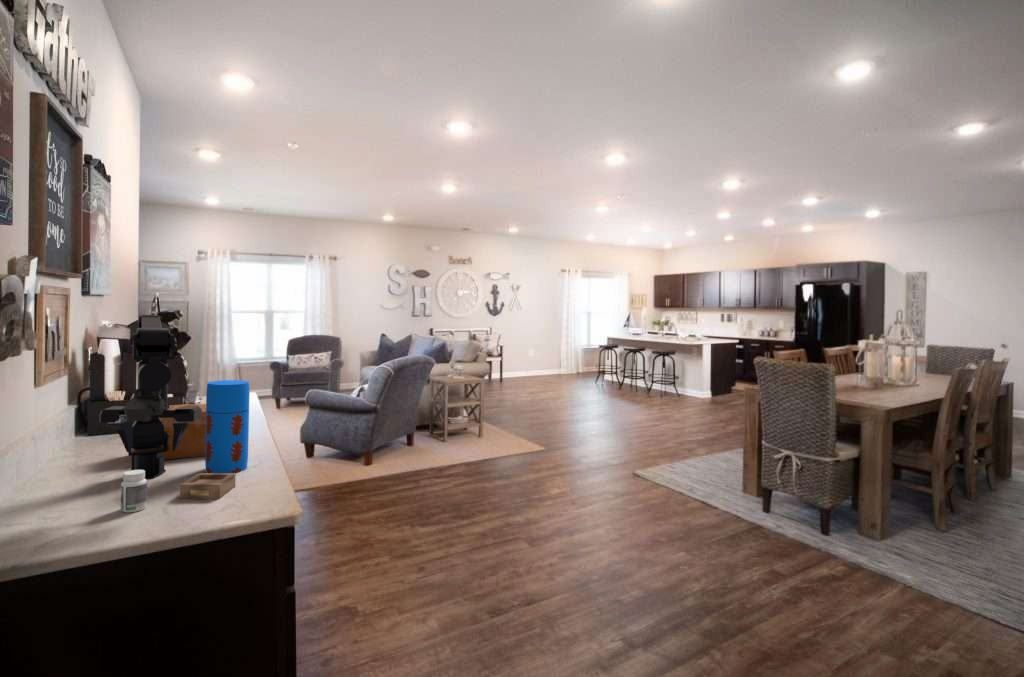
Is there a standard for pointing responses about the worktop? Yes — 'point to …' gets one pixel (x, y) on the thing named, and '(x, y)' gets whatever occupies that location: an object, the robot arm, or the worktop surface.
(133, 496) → the pill bottle
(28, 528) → the worktop surface
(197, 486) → the wooden tray
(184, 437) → the bread
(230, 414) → the thermos
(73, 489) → the worktop surface
